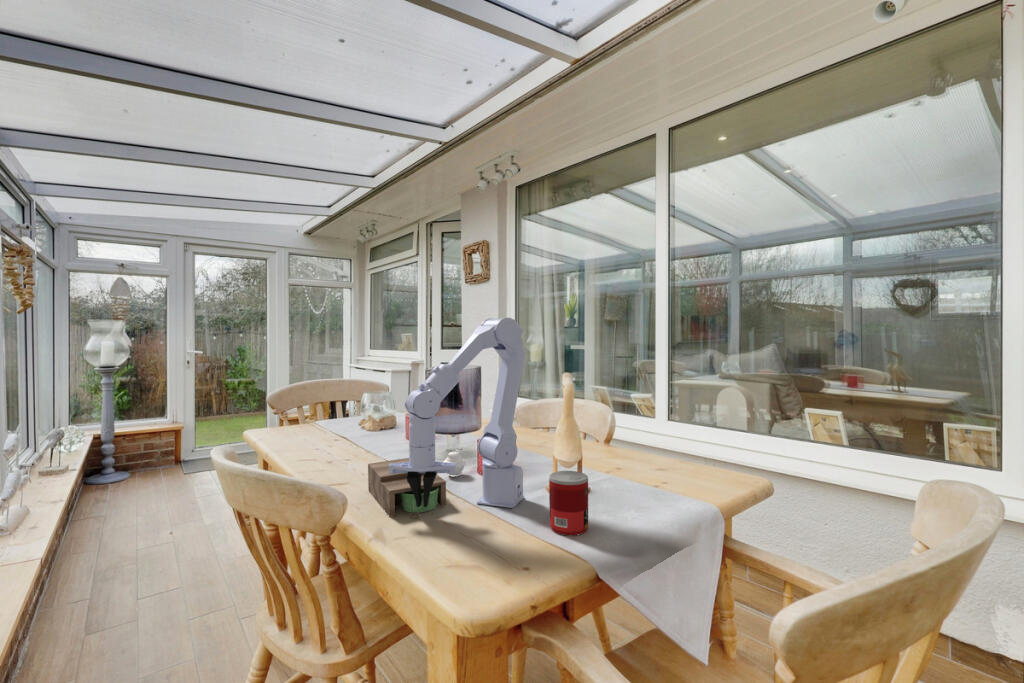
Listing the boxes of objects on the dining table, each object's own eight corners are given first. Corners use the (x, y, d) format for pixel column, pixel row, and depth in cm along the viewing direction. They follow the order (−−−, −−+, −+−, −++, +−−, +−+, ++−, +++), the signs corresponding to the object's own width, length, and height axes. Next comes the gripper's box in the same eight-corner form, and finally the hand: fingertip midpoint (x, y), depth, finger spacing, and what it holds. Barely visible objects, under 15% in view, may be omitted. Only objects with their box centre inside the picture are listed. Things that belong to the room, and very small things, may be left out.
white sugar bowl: (467, 472, 138) (466, 448, 138) (462, 479, 132) (462, 454, 132) (446, 472, 139) (446, 448, 139) (440, 478, 133) (440, 453, 132)
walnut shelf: (446, 505, 113) (445, 476, 112) (389, 517, 106) (389, 485, 106) (418, 482, 130) (418, 456, 130) (368, 490, 123) (368, 463, 123)
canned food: (593, 534, 96) (593, 480, 96) (554, 537, 95) (554, 483, 95) (581, 519, 104) (581, 469, 103) (545, 522, 102) (545, 471, 102)
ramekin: (447, 504, 113) (446, 486, 113) (418, 517, 105) (418, 497, 105) (420, 497, 118) (420, 480, 118) (391, 508, 111) (391, 489, 111)
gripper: (457, 440, 110) (457, 498, 110) (393, 440, 110) (394, 499, 110) (453, 447, 103) (453, 510, 103) (385, 448, 103) (386, 510, 103)
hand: (422, 505), depth 106 cm, fingers closed
